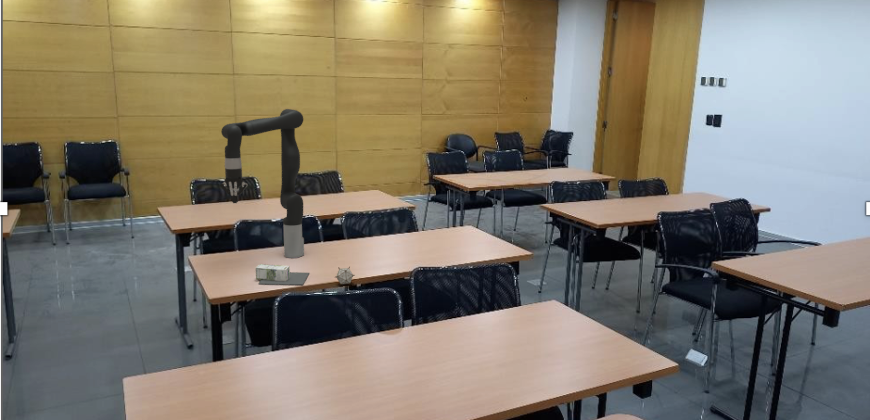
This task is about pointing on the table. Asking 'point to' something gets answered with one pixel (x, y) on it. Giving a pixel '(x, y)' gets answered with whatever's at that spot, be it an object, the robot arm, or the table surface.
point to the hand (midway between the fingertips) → (235, 202)
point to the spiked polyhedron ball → (344, 276)
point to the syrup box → (272, 272)
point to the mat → (294, 279)
